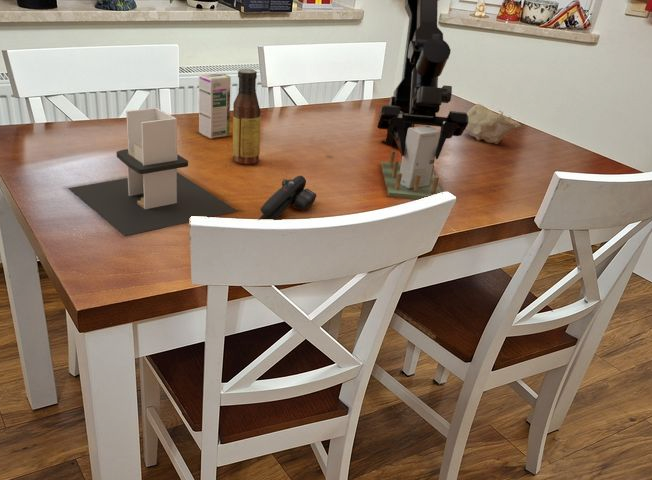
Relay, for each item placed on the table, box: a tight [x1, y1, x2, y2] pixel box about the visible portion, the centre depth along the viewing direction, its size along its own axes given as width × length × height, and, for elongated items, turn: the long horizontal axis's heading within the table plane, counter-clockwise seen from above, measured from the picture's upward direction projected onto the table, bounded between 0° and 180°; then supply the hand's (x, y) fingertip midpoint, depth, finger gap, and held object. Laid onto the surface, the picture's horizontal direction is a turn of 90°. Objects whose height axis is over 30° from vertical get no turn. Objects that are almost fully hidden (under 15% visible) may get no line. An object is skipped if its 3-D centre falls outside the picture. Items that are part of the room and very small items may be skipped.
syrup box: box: [198, 71, 232, 139], centre depth 163 cm, size 6×6×14 cm
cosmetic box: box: [400, 125, 441, 189], centre depth 141 cm, size 6×4×12 cm
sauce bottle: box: [232, 68, 262, 166], centre depth 146 cm, size 6×6×20 cm
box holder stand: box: [67, 107, 239, 237], centre depth 125 cm, size 25×24×16 cm
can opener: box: [259, 175, 317, 220], centre depth 127 cm, size 18×7×6 cm, turn 150°
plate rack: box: [380, 150, 443, 200], centre depth 147 cm, size 20×12×4 cm, turn 177°
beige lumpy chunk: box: [465, 103, 522, 145], centre depth 179 cm, size 15×7×15 cm
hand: (419, 156), depth 140 cm, fingers closed on cosmetic box, 7 cm apart
